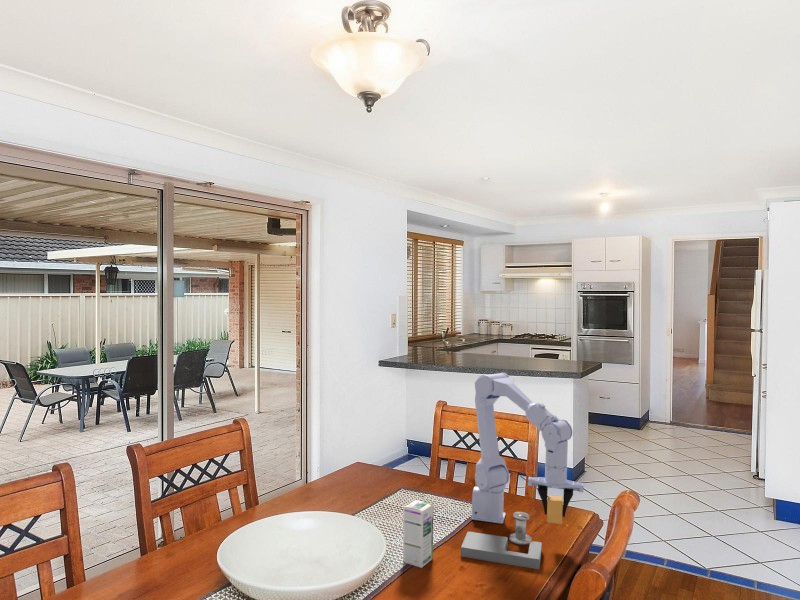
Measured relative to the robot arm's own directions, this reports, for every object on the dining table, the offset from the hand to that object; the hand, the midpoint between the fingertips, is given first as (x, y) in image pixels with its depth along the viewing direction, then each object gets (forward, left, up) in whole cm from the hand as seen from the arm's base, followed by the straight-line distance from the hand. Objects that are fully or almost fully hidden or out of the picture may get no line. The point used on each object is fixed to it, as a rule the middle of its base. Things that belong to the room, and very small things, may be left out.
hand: (554, 514), depth 155 cm
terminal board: (-13, -10, -9) cm, 19 cm away
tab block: (0, 0, -2) cm, 2 cm away
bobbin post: (-9, 0, -9) cm, 12 cm away
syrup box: (-33, -21, -9) cm, 40 cm away
